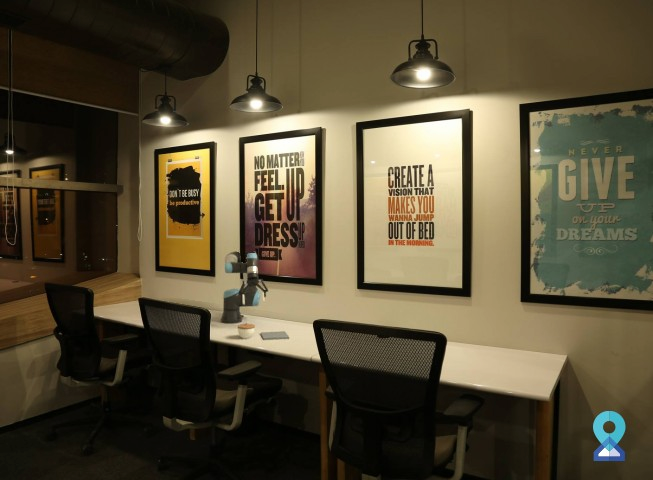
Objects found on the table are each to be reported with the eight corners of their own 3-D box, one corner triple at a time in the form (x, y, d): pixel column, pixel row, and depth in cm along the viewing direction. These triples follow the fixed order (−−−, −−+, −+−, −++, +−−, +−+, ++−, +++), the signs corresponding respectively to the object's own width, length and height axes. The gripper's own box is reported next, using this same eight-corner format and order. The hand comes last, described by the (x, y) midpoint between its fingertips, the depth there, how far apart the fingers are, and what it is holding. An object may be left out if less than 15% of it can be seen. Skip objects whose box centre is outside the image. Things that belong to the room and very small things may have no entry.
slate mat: (260, 333, 310) (260, 332, 310) (284, 332, 314) (284, 331, 314) (263, 339, 295) (263, 338, 295) (289, 338, 299) (289, 337, 299)
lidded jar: (251, 340, 294) (251, 325, 293) (234, 339, 296) (235, 324, 295) (257, 336, 304) (257, 321, 304) (241, 335, 306) (241, 320, 306)
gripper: (233, 274, 327) (234, 303, 317) (269, 269, 327) (271, 298, 317) (235, 278, 333) (236, 306, 324) (271, 274, 334) (273, 302, 324)
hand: (253, 302), depth 320 cm, fingers open, 13 cm apart
